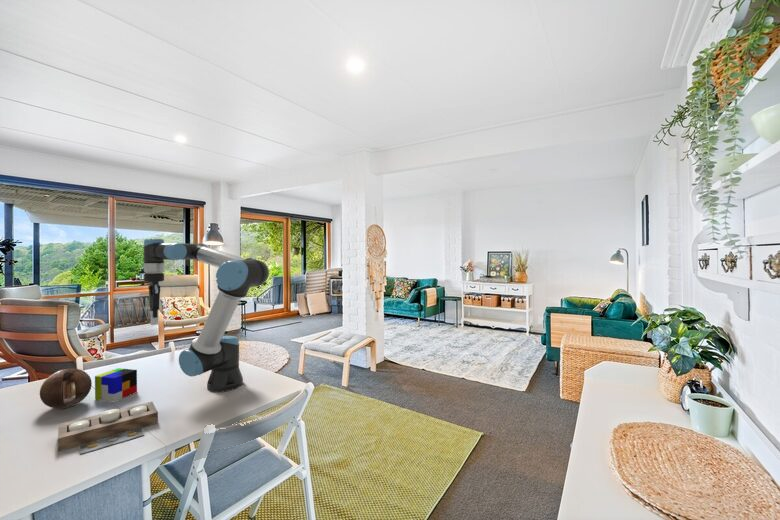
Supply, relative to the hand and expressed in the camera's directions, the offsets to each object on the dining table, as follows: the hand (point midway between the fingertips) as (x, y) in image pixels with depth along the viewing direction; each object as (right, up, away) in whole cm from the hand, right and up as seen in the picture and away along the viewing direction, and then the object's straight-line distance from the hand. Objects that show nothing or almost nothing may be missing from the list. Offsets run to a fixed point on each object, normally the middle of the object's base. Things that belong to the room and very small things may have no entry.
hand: (154, 324), depth 153 cm
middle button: (+9, -28, -35) cm, 45 cm away
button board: (+11, -30, -37) cm, 49 cm away
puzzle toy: (-11, -30, -7) cm, 33 cm away
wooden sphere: (-23, -30, -18) cm, 41 cm away
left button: (+3, -29, -40) cm, 50 cm away
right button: (+15, -29, -29) cm, 44 cm away
